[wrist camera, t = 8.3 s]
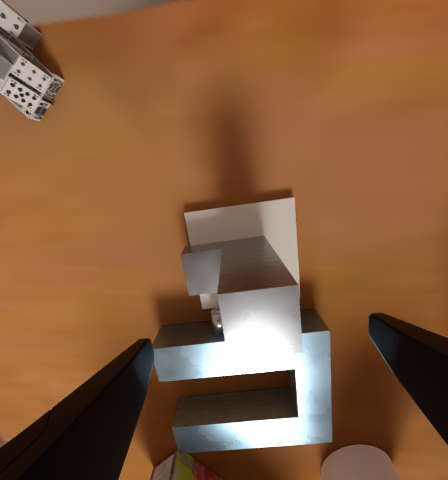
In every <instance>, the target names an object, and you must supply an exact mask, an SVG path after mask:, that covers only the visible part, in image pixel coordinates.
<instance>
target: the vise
mask: <svg viewBox="0 0 448 480" xmlns="http://www.w3.org/2000/svg"><path fill="white" fill-rule="evenodd" d="M300 317H301V332H302V348H303V353H296V354H287V355H277V356H267V357H257V358H247V359H237V360H228V355H227V349H226V343H225V337H224V331H223V326H222V320H221V314H220V308H219V307H217V308H214V309H212V310H211V318H212V321H206V322H197V323H188V324H179V325H170V326H161V328H160V330H159V332H158V334H157V336H156V338H155V340H154V342H153V344H152V347H153V351H154V365H155V369H156V373H157V376H158V380H159V382H165V381H175V380H186V379H196V378H207V377H217V376H228V375H238V374H249V373H259V372H270V371H280V370H288V374H289V387H286V388H275V389H264V390H253V391H242V392H231V393H220V394H209V395H198V396H187V397H179V399H178V403H177V407H176V411H175V416H174V420H173V424H172V431H173V435H174V438H175V442H176V446H177V449H178V453H179V454H182V453H196V452H209V451H222V450H236V449H249V448H263V447H276V446H290V445H303V444H316V443H330V442H332V403H331V356H330V330H329V328H328V327H327V326H326V324H325V323H324V321H323V320H322V318H321V317H320V315H319V314H318V313H317V311H316V310H306V311H300Z"/></svg>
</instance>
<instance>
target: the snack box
mask: <svg viewBox="0 0 448 480" xmlns="http://www.w3.org/2000/svg"><path fill="white" fill-rule="evenodd" d="M150 480H224V479H222V478H221V477H219V476H218V475H217V474H215V473H214V472H213V471H211V470H210V469H208V468H207V467H206V466H204V465H203V464H201V463H200V462H199V461H197V460H196V459H195V458H193V457H192V456H190V455H189V454H188V453H182V454H179V453H178V449H177V450H176V451H175V452H173V453H172V454H171V455H170V456H168V457H167V458H166V459H164V460H163V461H162V462H161V463H159V464H158V465H157V466H156V467H154V468H153V471H152V475H151V478H150Z"/></svg>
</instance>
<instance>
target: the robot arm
mask: <svg viewBox="0 0 448 480" xmlns="http://www.w3.org/2000/svg"><path fill="white" fill-rule="evenodd" d="M369 335H370V338H371V339H372V341H373V342H374V344H375V346H376V347H377V349H378V350H379V352H380V353H381V355H382V357H383V358H384V360H385V361H386V363H387V364H388V366H389V368H390V369H391V371H392V372H393V374H394V375H395V377H396V378H397V379H398V381H399V382H400V383H401V385H402V386H403V387H404V389H405V390H406V391H407V393H408V394H409V395H410V396H411V398H412V399H413V400H414V402H415V403H416V404H417V406H418V407H419V408H420V410H421V411H422V412H423V413H424V415H425V416H426V417H427V419H428V420H429V421H430V423H431V424H432V425H433V427H434V428H435V429H436V430H437V432H438V433H439V434H440V436H441V437H442V438H443V440H444V441H445V442H446V444H447V445H448V338H446V337H443V336H441V335H438V334H436V333H433V332H430V331H428V330H425V329H423V328H420V327H417V326H415V325H412V324H410V323H407V322H405V321H402V320H399V319H397V318H394V317H392V316H389V315H386V314H384V313H373V314H370V316H369ZM153 363H154V351H153V347H152V344H151V341H150V339H149V338H145V339H139V340H138V341H136V342H135V343H134V344H133V345H131V346H130V347H129V348H128V349H126V350H125V351H124V352H122V353H121V354H120V355H119V356H117V357H116V358H115V359H114V360H112V361H111V362H110V363H109V364H107V365H106V366H105V367H104V368H102V369H101V370H100V371H98V372H97V373H96V374H95V375H93V376H92V377H91V378H90V379H88V380H87V381H86V382H85V383H83V384H82V385H81V386H79V387H78V388H77V389H76V390H74V391H73V392H72V393H71V394H69V395H68V396H67V397H66V398H64V399H63V400H62V401H60V402H59V403H58V404H57V405H55V406H54V407H53V408H52V410H49V411H48V412H47V413H45V414H44V415H43V416H42V417H40V418H39V419H38V420H36V421H35V422H34V423H33V424H31V425H30V426H29V427H27V428H26V429H25V430H23V431H22V432H21V433H20V434H18V435H17V436H16V437H14V438H13V439H12V440H10V441H9V442H7V443H6V444H5V445H3V446H2V447H1V448H0V480H118V479H119V476H120V473H121V470H122V467H123V464H124V461H125V458H126V455H127V452H128V449H129V446H130V443H131V440H132V437H133V434H134V431H135V428H136V425H137V422H138V419H139V416H140V413H141V410H142V407H143V404H144V401H145V397H146V393H147V389H148V385H149V380H150V376H151V372H152V368H153Z"/></svg>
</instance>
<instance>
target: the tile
mask: <svg viewBox="0 0 448 480" xmlns="http://www.w3.org/2000/svg"><path fill="white" fill-rule="evenodd" d="M184 216H185V221H186V226H187V231H188V237H189V242H190V246H192V245H199V244H206V243H214V242H221V241H229V240H236V239H243V238H251V237H258V236H265V237H266V239H267V240H268V242H269V243H270V245H271V246H272V247H273V249H274V250H275V252H276V253H277V255H278V256H279V258H280V259H281V260H282V262H283V263H284V265H285V266H286V268H287V269H288V270H289V272H290V273H291V275H292V276H293V278H294V279H295V281H296V282H297V283H298V285H299V298H300V283H299V266H298V249H297V232H296V215H295V198H294V197H289V198H282V199H275V200H268V201H261V202H254V203H247V204H240V205H233V206H226V207H219V208H212V209H205V210H197V211H190V212H185V213H184ZM200 300H201V305H202V309H209V308H217V307H219V302H218V296H217V292H216V293H208V294H200Z"/></svg>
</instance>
